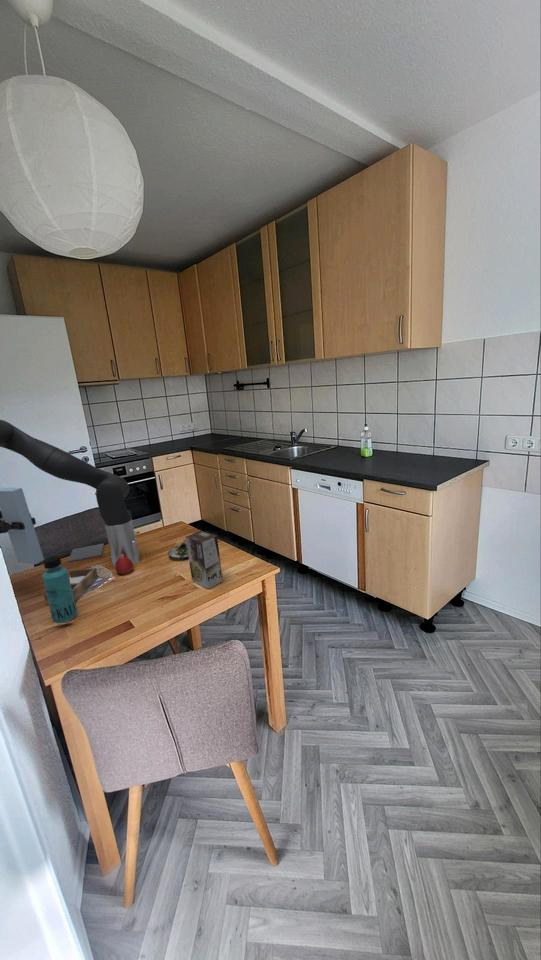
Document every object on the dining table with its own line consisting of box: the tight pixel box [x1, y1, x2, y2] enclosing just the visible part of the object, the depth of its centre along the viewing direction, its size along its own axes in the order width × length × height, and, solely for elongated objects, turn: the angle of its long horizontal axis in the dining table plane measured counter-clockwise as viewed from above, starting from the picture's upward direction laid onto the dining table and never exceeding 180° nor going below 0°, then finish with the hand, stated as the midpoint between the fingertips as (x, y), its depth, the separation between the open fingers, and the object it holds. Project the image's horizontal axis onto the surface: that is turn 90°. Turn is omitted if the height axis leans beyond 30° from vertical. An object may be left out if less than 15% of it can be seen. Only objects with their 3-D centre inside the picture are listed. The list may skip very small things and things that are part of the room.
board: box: [0, 487, 45, 565], centre depth 117 cm, size 8×3×24 cm, turn 69°
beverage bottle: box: [41, 555, 78, 624], centre depth 107 cm, size 6×7×20 cm
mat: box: [67, 543, 105, 563], centre depth 155 cm, size 12×12×1 cm
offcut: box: [69, 576, 85, 584], centre depth 126 cm, size 5×6×2 cm
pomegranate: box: [114, 554, 134, 576], centre depth 133 cm, size 6×6×8 cm
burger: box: [167, 538, 188, 562], centre depth 146 cm, size 12×12×8 cm
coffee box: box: [184, 530, 224, 590], centre depth 123 cm, size 9×6×16 cm
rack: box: [43, 567, 99, 606], centre depth 123 cm, size 16×9×5 cm, turn 178°
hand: (28, 523), depth 116 cm, fingers closed on board, 3 cm apart
